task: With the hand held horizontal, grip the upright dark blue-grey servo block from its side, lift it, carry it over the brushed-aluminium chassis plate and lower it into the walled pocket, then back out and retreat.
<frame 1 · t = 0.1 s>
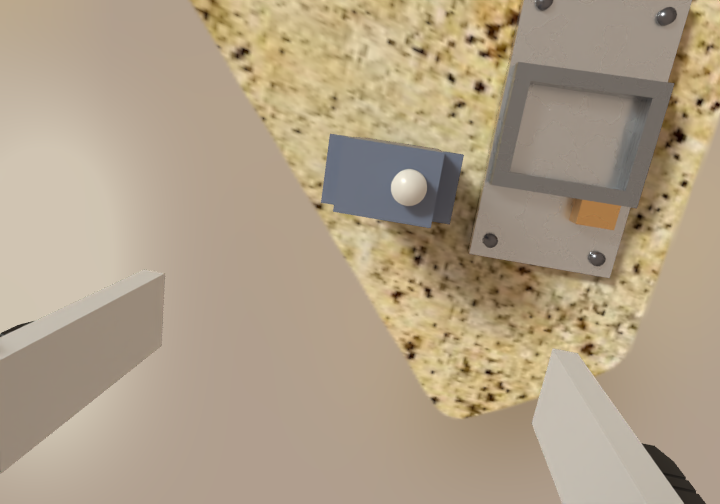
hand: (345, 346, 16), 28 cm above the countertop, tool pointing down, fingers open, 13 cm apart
chassis: (567, 136, 39), on the countertop
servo: (396, 170, 41), on the countertop
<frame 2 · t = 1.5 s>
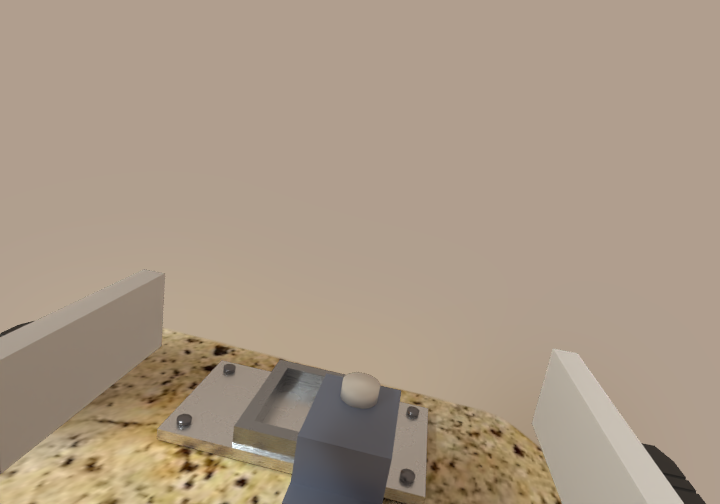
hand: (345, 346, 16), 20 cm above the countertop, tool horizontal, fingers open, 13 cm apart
chassis: (305, 426, 43), on the countertop
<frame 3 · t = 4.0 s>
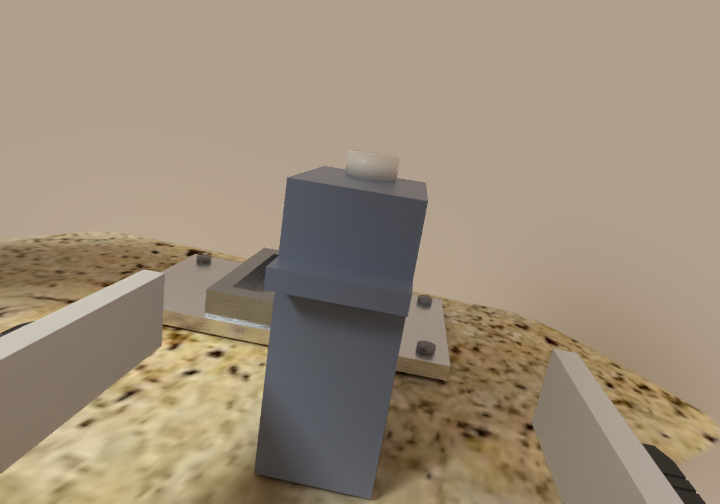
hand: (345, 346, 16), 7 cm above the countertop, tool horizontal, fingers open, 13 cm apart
chassis: (296, 311, 35), on the countertop
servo: (327, 436, 22), on the countertop
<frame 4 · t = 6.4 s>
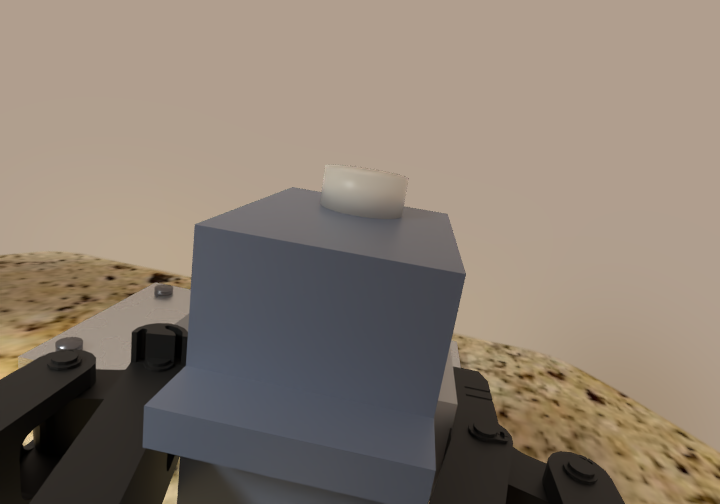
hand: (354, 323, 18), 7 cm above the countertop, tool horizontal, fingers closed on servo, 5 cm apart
chassis: (273, 363, 28), on the countertop
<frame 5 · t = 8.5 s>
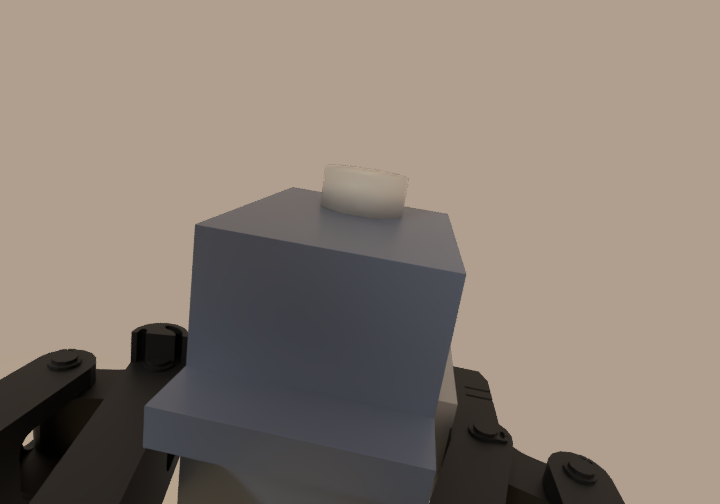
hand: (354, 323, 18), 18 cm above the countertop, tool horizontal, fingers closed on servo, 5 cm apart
when the fingers open (9 cm above the countertop, at t = 10.8 s): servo drops 1 cm, resting on chassis.
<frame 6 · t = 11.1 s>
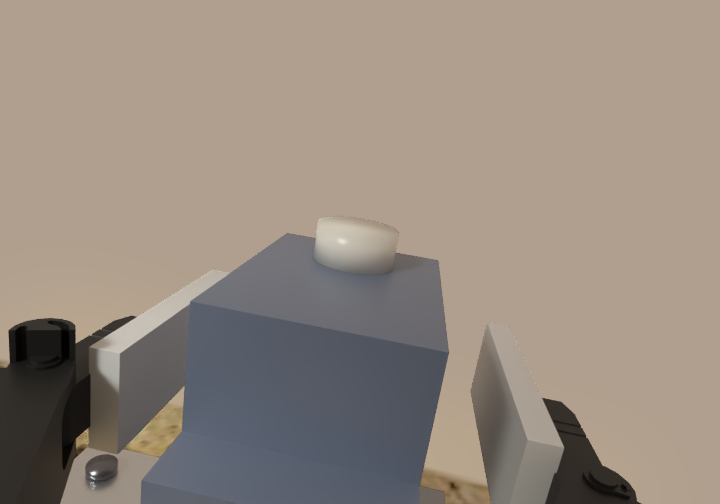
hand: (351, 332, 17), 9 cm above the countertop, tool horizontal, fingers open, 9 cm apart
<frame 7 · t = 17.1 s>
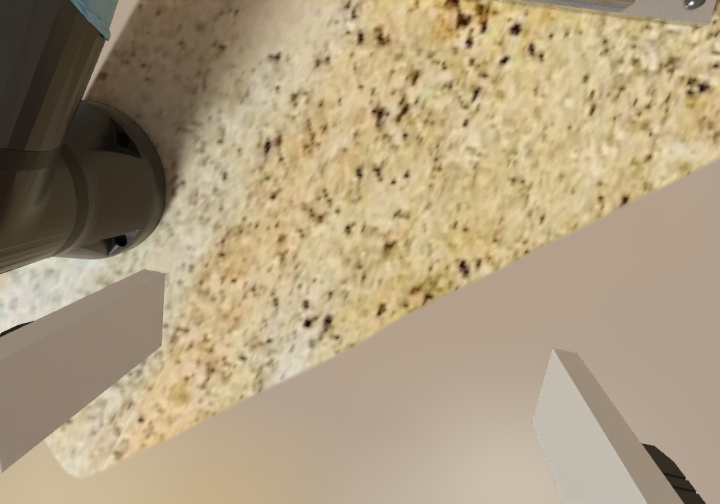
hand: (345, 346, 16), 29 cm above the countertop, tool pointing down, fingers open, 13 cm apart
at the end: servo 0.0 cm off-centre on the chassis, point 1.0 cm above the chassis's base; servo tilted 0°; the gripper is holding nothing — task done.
